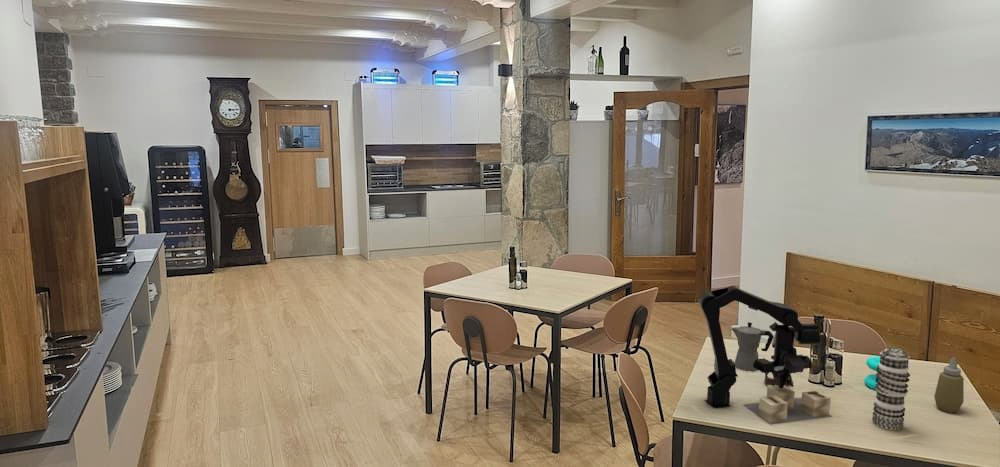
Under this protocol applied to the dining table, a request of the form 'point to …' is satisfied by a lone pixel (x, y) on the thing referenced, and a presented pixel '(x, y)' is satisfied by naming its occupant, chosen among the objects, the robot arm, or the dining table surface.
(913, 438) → the dining table surface
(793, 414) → the charcoal mat
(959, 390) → the squeeze bottle
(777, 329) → the robot arm
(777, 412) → the numbered block one
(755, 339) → the coffeepot
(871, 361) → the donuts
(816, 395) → the numbered block seven
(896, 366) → the striped patterned cylinder
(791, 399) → the plain block
